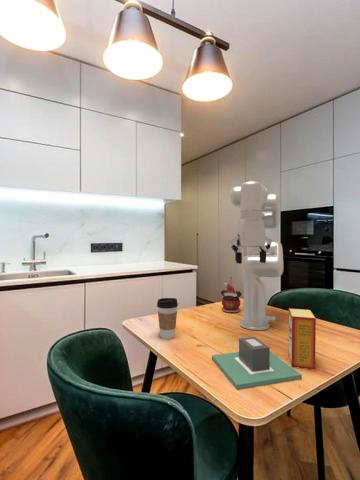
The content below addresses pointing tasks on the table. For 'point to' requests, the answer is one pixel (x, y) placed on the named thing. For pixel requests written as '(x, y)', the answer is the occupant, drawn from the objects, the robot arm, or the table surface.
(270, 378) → the pin board
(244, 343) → the block
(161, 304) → the coffee cup
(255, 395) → the table surface
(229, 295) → the red christmas figurine
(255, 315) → the robot arm
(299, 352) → the baking soda box
